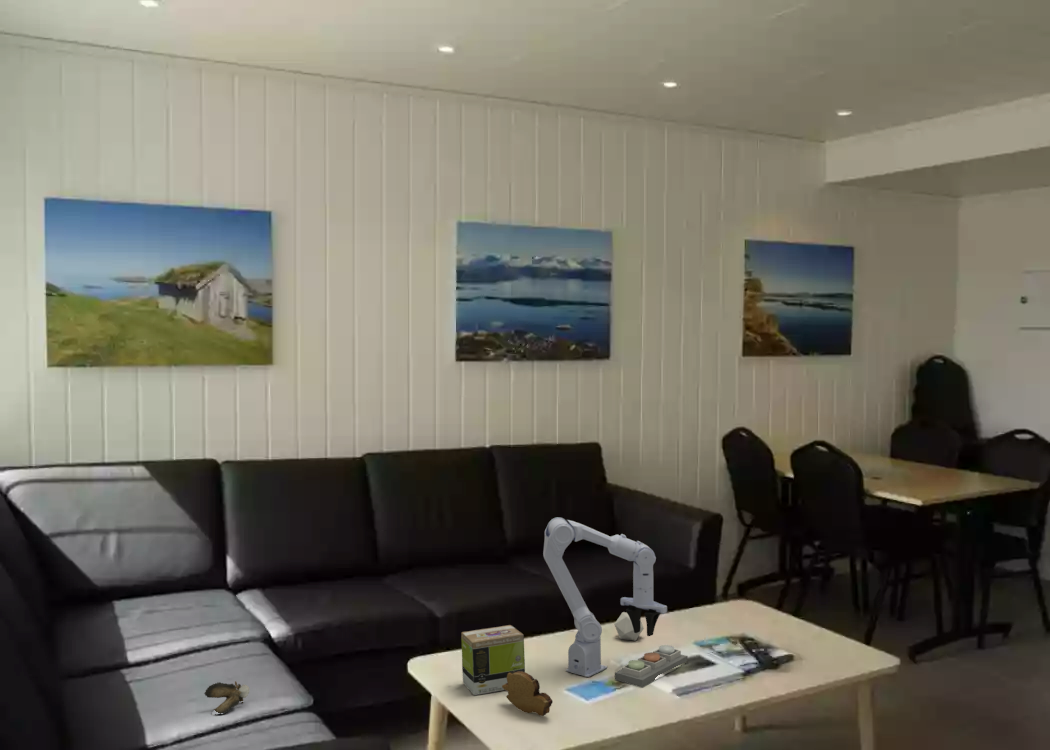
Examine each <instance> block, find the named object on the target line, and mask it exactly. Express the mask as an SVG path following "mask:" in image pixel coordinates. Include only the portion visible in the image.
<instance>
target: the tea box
mask: <svg viewBox="0 0 1050 750" xmlns="http://www.w3.org/2000/svg"><path fill="white" fill-rule="evenodd" d="M460 638H461V639H460V640H461V667H462V669H461V671H462V672H461V673H462V683H463V684H464V686H465V687H466V688H467V689H468V690H469V692H471V694H472V695H473V696H480V695H485V694H488V693H489V694H490V693H495V692H496V693H497V692H500V691H505V690H504V689H503V688H502V685H504V684H506V683H508V682H507V674H508V673H511V672H513V671H515V672H518V671H522V672H526V663H525V662H526V661H525V660H526V659H525V636H524V634H523V633H522V632H521V631H519V630H518V629H517V628H516V627H514V626H513V625H511V624H508V625H502V626H496V627H495V626H494V627H488V628H481V629H475V630H469V631H462V632H461V637H460Z"/></svg>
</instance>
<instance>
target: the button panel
mask: <svg viewBox="0 0 1050 750" xmlns="http://www.w3.org/2000/svg"><path fill="white" fill-rule="evenodd" d="M652 652H653V653H658V654H659V655H660V660H659V661H658V662H656V663H653V662H649V661H645V660H644V655H643V656H641V657H639V658H637V660H640V661H643V662H644V669H642V670H640V671H637V670H633V669H629V668H628V663H627V664H626V665H623V666H621V669H619V670H617V671H615V672H614V681H619V682H622V683H624V684H629V685H632V686H637V687H640V688H644V687H645V686H648V685H649V684H651V683H653V682H655V681H656V680H655V678H656V677H657V676H658V675H660V674H662V673H664V672H666V671H668V670H670V669H672V668H674V667H676V666H678V665H680V664H682V663H684V662H686V661H688V655H685V654H681V653H682V650H681V649H676V648H674V652H675V653H673V654H671V655H667V654H663V653H659V648H658V649H655V650H653V651H652ZM654 680H655V681H654Z"/></svg>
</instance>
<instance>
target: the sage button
mask: <svg viewBox="0 0 1050 750" xmlns="http://www.w3.org/2000/svg"><path fill="white" fill-rule="evenodd" d="M627 664H628V668H629V669H633V670H637V671H640V670H642V669H644V662H643V661H640V660H638V659H634V660H630V661H628V663H627Z"/></svg>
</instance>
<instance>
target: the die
mask: <svg viewBox="0 0 1050 750" xmlns="http://www.w3.org/2000/svg"><path fill="white" fill-rule="evenodd" d="M614 627H615V629H616V632H617V635H618V637H619V639H620V640H628V641H635V642H636V641H637V639H638V638H639V636H640V635H641V633H642V632H643V630H644V629H645V627H644V625H643V622H642V620H641V619H640V632H638V633H634V629H633V625H632V622H631V620H630V617H629V615H628V614H627V612H625V611H623V612H621V614H620V615H619V617H618V618H617V620H616V621H615V623H614Z"/></svg>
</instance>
